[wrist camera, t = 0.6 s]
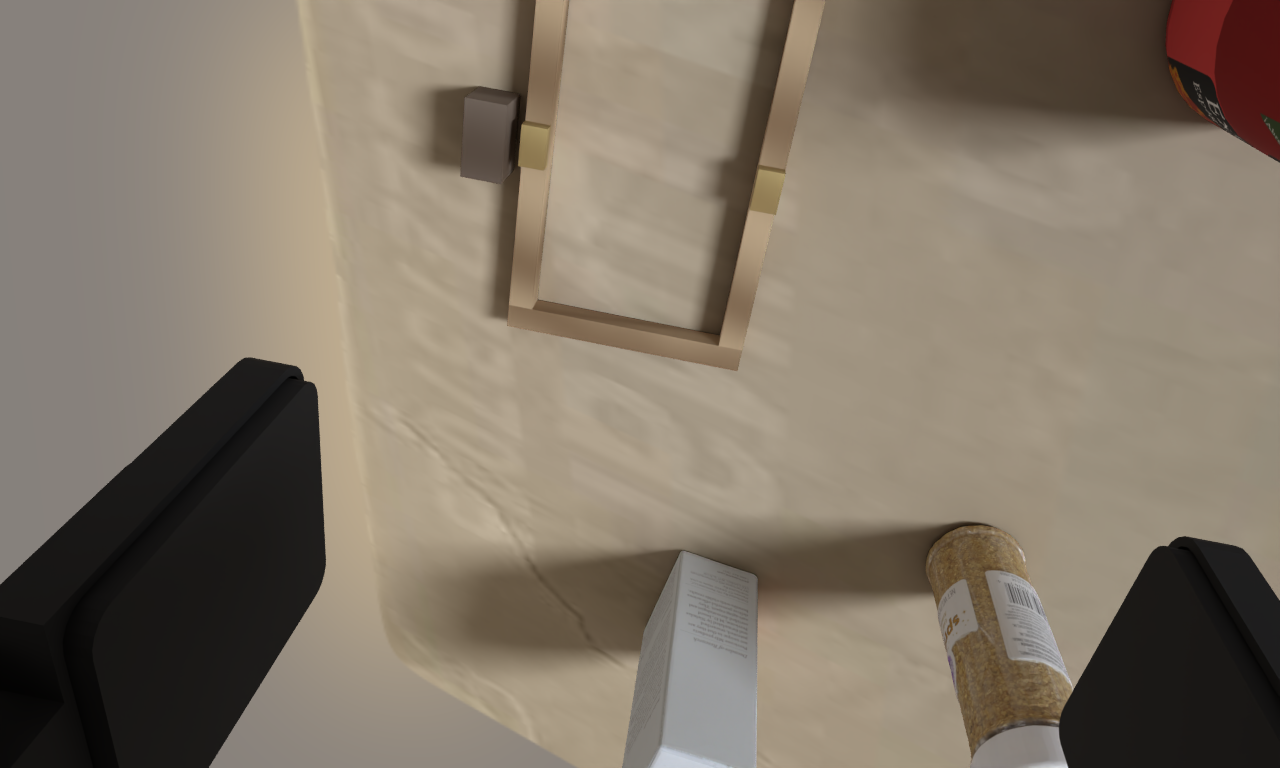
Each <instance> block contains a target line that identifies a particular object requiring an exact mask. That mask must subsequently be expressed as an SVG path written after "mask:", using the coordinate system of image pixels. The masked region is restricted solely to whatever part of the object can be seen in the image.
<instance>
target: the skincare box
mask: <svg viewBox="0 0 1280 768" xmlns="http://www.w3.org/2000/svg"><path fill="white" fill-rule="evenodd" d="M757 618H758V578H757V577H756V576H755V575H754V574H752V573H749V572H745V571H742V570H739V569H736V568H733V567H730V566H728V565H725V564H721V563H719V562H716V561H713V560H710V559H707V558H704V557H701V556H699V555H696V554H693V553H690V552H687V551H681V552H680V554H679V556H678V559H677V561H676V563H675V565H674V567H673V569H672V571H671V574H670V576H669V578H668V580H667V582H666V584H665V587H664V589H663V591H662V593H661V595H660V597H659V599H658V601H657V604H656V606H655V608H654V610H653V612H652V615H651V617H650V619H649V621H648V623H647V626H646V627H645V630H644V633H643V640H642V646H641V652H640V658H639V664H638V671H637V677H636V683H635V690H634V697H633V703H632V710H631V716H630V722H629V729H628V735H627V741H626V747H625V753H624V760H623V766H622V768H756V724H757Z"/></svg>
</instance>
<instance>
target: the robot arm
mask: <svg viewBox="0 0 1280 768" xmlns="http://www.w3.org/2000/svg"><path fill="white" fill-rule="evenodd" d="M325 566H326V555H325V534H324V514H323V494H322V474H321V455H320V434H319V413H318V395H317V389H316V387H315V385H314V384H313V383H312V382H307V381H304V377H303V374H302V372H301V370H300V369H299V368H298V367H297V366H292V365H286V364H282V363H276V362H271V361H266V360H260V359H255V358H244V359H242V360H241V361H239V362H238V363H237V364H236V365H235V366H234V367H233V368H231V369H230V370H229V371H228V372H227V373H226V374H225V375H224V376H223V377H222V378H221V379H220V380H219V381H218V382H217V383H215V384H214V385H213V386H212V387H211V388H210V389H209V390H208V391H207V392H206V393H205V394H204V395H203V396H202V397H201V398H200V399H198V400H197V401H196V402H195V403H194V404H193V405H192V406H191V407H190V408H189V409H188V410H187V411H186V412H185V413H184V414H183V415H182V416H180V417H179V418H178V419H177V420H176V421H175V422H174V423H173V424H172V425H171V426H170V427H169V428H168V429H167V430H166V431H165V432H163V433H162V434H161V435H160V436H159V437H158V438H157V439H156V440H155V441H154V442H153V443H152V444H151V445H150V446H149V447H148V448H147V449H145V450H144V451H143V452H142V453H141V454H140V455H139V456H138V457H137V458H136V459H135V460H134V461H133V462H132V463H131V464H129V465H128V466H126V467H125V468H124V469H123V470H122V471H121V472H120V473H119V474H118V475H116V476H115V477H114V478H113V479H112V480H111V481H110V482H109V483H108V484H107V485H106V486H105V487H104V488H103V489H102V490H100V491H99V492H98V493H97V494H96V495H95V496H94V497H93V498H92V499H91V500H90V501H89V502H88V503H87V504H86V505H85V506H83V508H81V509H80V510H79V511H78V512H77V513H76V514H75V515H74V516H73V517H72V518H71V519H70V520H69V521H68V522H66V523H65V524H64V525H63V526H62V527H61V528H60V529H59V530H58V531H57V532H56V533H55V534H54V535H53V536H52V537H51V538H49V539H48V540H47V541H46V542H45V543H44V544H43V545H42V546H41V547H40V548H39V549H38V550H37V551H36V552H35V553H33V554H32V555H31V556H30V557H29V558H28V559H27V560H26V561H25V562H24V563H23V564H22V565H21V566H20V567H19V568H18V569H17V570H15V572H13V573H12V574H11V575H10V576H9V577H8V578H7V579H6V580H5V581H4V582H3V583H2V584H0V768H209V766H210V765H211V763H212V761H213V760H214V758H215V756H216V755H217V753H218V751H219V750H220V749H221V747H222V745H223V744H224V742H225V740H226V739H227V737H228V735H229V734H230V732H231V731H232V729H233V728H234V726H235V724H236V723H237V721H238V720H239V718H240V716H241V715H242V713H243V711H244V710H245V708H246V707H247V705H248V704H249V702H250V700H251V699H252V697H253V696H254V694H255V692H256V691H257V689H258V687H259V686H260V684H261V683H262V681H263V679H264V678H265V676H266V675H267V673H268V671H269V670H270V668H271V667H272V665H273V663H274V662H275V660H276V658H277V657H278V655H279V654H280V652H281V651H282V649H283V647H284V646H285V644H286V642H287V641H288V639H289V638H290V636H291V634H292V633H293V631H294V630H295V628H296V626H297V625H298V623H299V622H300V620H301V618H302V617H303V615H304V614H305V612H306V610H307V609H308V607H309V605H310V604H311V602H312V601H313V599H314V597H315V596H316V594H317V592H318V590H319V588H320V586H321V583H322V580H323V576H324V572H325ZM1059 739H1060V743H1061V747H1062V750H1063V753H1064V756H1065V759H1066V763H1067V766H1068V768H1280V601H1279V599H1278V598H1277V596H1276V595H1275V593H1274V592H1273V590H1272V589H1271V587H1270V586H1269V584H1268V583H1267V581H1266V580H1265V578H1264V577H1263V575H1262V574H1261V572H1260V571H1259V569H1258V568H1257V566H1256V565H1255V563H1254V562H1253V560H1252V559H1251V557H1250V556H1249V555H1248V554H1247V553H1246V552H1245V551H1244V550H1243V549H1242V548H1239V547H1237V546H1233V545H1228V544H1223V543H1218V542H1212V541H1207V540H1202V539H1197V538H1191V537H1186V536H1184V537H1178V538H1177V539H1175V540H1174V541H1172V542H1171V543H1170V545H1169V546H1168V547H1167V546H1159V547H1157V548H1156V549H1154V550H1153V552H1152V553H1151V554H1150V556H1149V558H1148V559H1147V561H1146V563H1145V565H1144V566H1143V568H1142V570H1141V572H1140V573H1139V575H1138V577H1137V579H1136V580H1135V582H1134V584H1133V586H1132V588H1131V589H1130V591H1129V593H1128V595H1127V596H1126V598H1125V600H1124V602H1123V603H1122V605H1121V607H1120V609H1119V610H1118V612H1117V614H1116V616H1115V618H1114V619H1113V621H1112V623H1111V625H1110V626H1109V628H1108V630H1107V632H1106V633H1105V635H1104V637H1103V639H1102V640H1101V642H1100V644H1099V646H1098V648H1097V649H1096V651H1095V653H1094V655H1093V656H1092V658H1091V660H1090V662H1089V663H1088V665H1087V667H1086V669H1085V670H1084V672H1083V674H1082V676H1081V678H1080V679H1079V681H1078V683H1077V685H1076V686H1075V688H1074V690H1073V692H1072V693H1071V695H1070V697H1069V699H1068V700H1067V702H1066V704H1065V706H1064V708H1063V710H1062V712H1061V716H1060V721H1059Z"/></svg>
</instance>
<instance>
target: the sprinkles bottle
mask: <svg viewBox="0 0 1280 768" xmlns="http://www.w3.org/2000/svg"><path fill="white" fill-rule="evenodd" d="M926 574H927V576H928V580H929V582H930V584H931V585H932V588H933V592H934V597H935V602H936V605H937V610H938V619H939V624H940V628H941V633H942V637H943V641H944V645H945V649H946V652H947V657H948V661H949V665H950V669H951V673H952V678H953V682H954V687H955V692H956V696H957V699H958V702H959V703H960V707H961V713H962V715H963V720H964V725H965V728H966V733H967V736H968V741H969V747H970V750H971V758H972V760H971V765H970V768H1068V766H1067V763H1066V759H1065V756H1064V753H1063V750H1062V747H1061V743H1060V739H1059V721H1060V716H1061V712H1062V710H1063V708H1064V706H1065V704H1066V702H1067V700H1068V699H1069V697H1070V695H1071V693H1072V692H1073V688H1072V684H1071V681H1070V679H1069V676H1068V673H1067V671H1066V668H1065V666H1064V663H1063V660H1062V657H1061V655H1060V652H1059V650H1058V647H1057V644H1056V641H1055V639H1054V636H1053V634H1052V631H1051V628H1050V626H1049V623H1048V620H1047V618H1046V615H1045V613H1044V610H1043V607H1042V605H1041V602H1040V599H1039V597H1038V595H1037V593H1036V591H1035V590H1034V588H1033V586H1032V583H1031V580H1030V577H1029V575H1028V573H1027V570H1026V559H1025V555H1024V552H1023V550H1022V548H1021V547H1020V545H1019V543H1018V542H1017V541H1016V540H1015V539H1013V537H1012V536H1011V535H1009V534H1007V533H1006V532H1004V531H1002V530H999V529H997V528H994V527H989V526H983V525H978V526H965V527H959V528H957V529H955V530H953V531H950V532H948V533H947V534H945V535H944V536H943V537H942V538H941V539H940V540H938V541H937V542H936V543H934V545H933V547H932V548H931V549H930V550H929V553H928V556H927V560H926Z"/></svg>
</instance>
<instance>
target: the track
mask: <svg viewBox="0 0 1280 768" xmlns="http://www.w3.org/2000/svg"><path fill="white" fill-rule="evenodd" d="M825 1H826V0H794V4H793V8H792V13H791V17H790V22H789V26H788V31H787V35H786V40H785V44H784V49H783V53H782V58H781V62H780V67H779V71H778V76H777V80H776V85H775V89H774V94H773V98H772V103H771V107H770V112H769V116H768V121H767V125H766V130H765V134H764V139H763V143H762V148H761V152H760V157H759V161H758V166H757V170H756V175H755V179H754V184H753V188H752V193H751V197H750V202H749V206H748V211H747V216H746V220H745V225H744V229H743V234H742V238H741V243H740V247H739V252H738V256H737V261H736V265H735V270H734V274H733V279H732V283H731V288H730V292H729V297H728V301H727V306H726V310H725V315H724V319H723V324H722V328H721V333H720V335H715V334H710V333H705V332H700V331H695V330H689V329H684V328H679V327H674V326H669V325H664V324H659V323H654V322H649V321H643V320H638V319H633V318H628V317H623V316H618V315H613V314H608V313H603V312H597V311H592V310H587V309H582V308H577V307H572V306H567V305H562V304H556V303H551V302H546V301H541V300H537V299H538V289H539V280H540V271H541V261H542V252H543V242H544V233H545V223H546V214H547V204H548V195H549V186H550V176H551V167H552V157H553V148H554V138H555V129H556V120H557V110H558V101H559V91H560V82H561V72H562V63H563V54H564V44H565V35H566V25H567V16H568V6H569V0H536V7H535V18H534V29H533V40H532V52H531V63H530V74H529V85H528V97H527V108H526V119H525V121H524V122H523V123H522V125H521V137H520V148H519V160H518V166H521V175H520V186H519V198H518V209H517V220H516V231H515V243H514V254H513V265H512V276H511V288H510V299H509V310H508V321H507V326H511V327H516V328H521V329H526V330H531V331H536V332H541V333H546V334H551V335H556V336H561V337H567V338H572V339H577V340H582V341H587V342H592V343H597V344H602V345H607V346H612V347H617V348H622V349H628V350H633V351H638V352H643V353H648V354H653V355H658V356H663V357H668V358H673V359H678V360H683V361H689V362H694V363H699V364H704V365H709V366H714V367H719V368H724V369H729V370H734V371H737V370H738V366H739V362H740V358H741V353H742V349H743V345H744V341H745V337H746V332H747V328H748V324H749V320H750V316H751V311H752V307H753V303H754V299H755V295H756V290H757V286H758V282H759V278H760V274H761V269H762V265H763V261H764V257H765V253H766V248H767V244H768V240H769V236H770V232H771V227H772V223H773V219H774V215H776V212H777V207H778V203H779V199H780V195H781V191H782V187H783V182H784V178H785V169H786V164H787V160H788V156H789V152H790V148H791V143H792V139H793V135H794V131H795V127H796V122H797V118H798V114H799V110H800V106H801V101H802V97H803V93H804V89H805V85H806V80H807V76H808V72H809V68H810V64H811V59H812V55H813V51H814V47H815V43H816V38H817V34H818V30H819V26H820V22H821V17H822V13H823V9H824V5H825ZM519 104H520V94H518V93H513V92H507V91H502V90H497V89H491V88H486V87H481V86H480V87H478V88H477V89H476V90H474V91H473V92H472V93H470V94H469V95H467V96H466V97H465V102H464V121H463V139H462V157H461V175H460V176H461V177H466V178H471V179H476V180H482V181H487V182H492V183H497V184H502V183H503V182H504V180H505V179H506V178H507V177H508V176H509V175H510V174H511V172H512V171H513V170H514V163H515V152H516V140H517V128H518V116H519Z"/></svg>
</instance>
